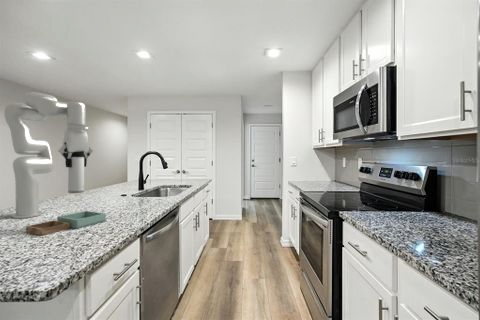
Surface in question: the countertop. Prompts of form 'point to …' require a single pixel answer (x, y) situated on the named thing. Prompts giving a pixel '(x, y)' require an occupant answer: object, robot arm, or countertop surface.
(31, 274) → the countertop surface
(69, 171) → the travel mug
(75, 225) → the tray
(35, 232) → the brown wooden tray
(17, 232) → the countertop surface
